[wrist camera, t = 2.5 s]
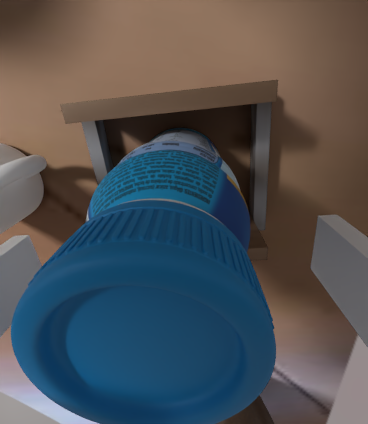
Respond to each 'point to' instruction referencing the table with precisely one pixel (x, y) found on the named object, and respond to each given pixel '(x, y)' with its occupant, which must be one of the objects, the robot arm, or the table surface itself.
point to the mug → (19, 185)
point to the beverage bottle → (152, 296)
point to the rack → (186, 101)
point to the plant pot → (251, 414)
